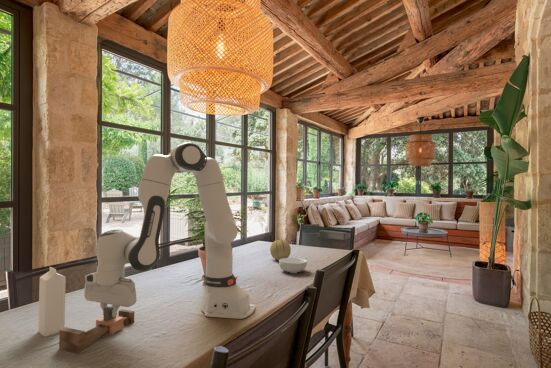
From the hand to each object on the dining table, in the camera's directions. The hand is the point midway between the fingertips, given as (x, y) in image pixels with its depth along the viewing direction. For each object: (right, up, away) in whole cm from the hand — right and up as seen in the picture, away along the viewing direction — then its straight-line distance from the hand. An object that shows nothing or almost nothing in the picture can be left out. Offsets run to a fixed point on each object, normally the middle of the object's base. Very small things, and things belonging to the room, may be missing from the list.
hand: (109, 315), depth 112 cm
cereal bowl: (+69, -7, +82) cm, 107 cm away
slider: (0, -5, 0) cm, 5 cm away
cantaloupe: (+62, -7, +112) cm, 128 cm away
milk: (-19, -5, -2) cm, 20 cm away
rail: (-1, -5, -3) cm, 6 cm away
